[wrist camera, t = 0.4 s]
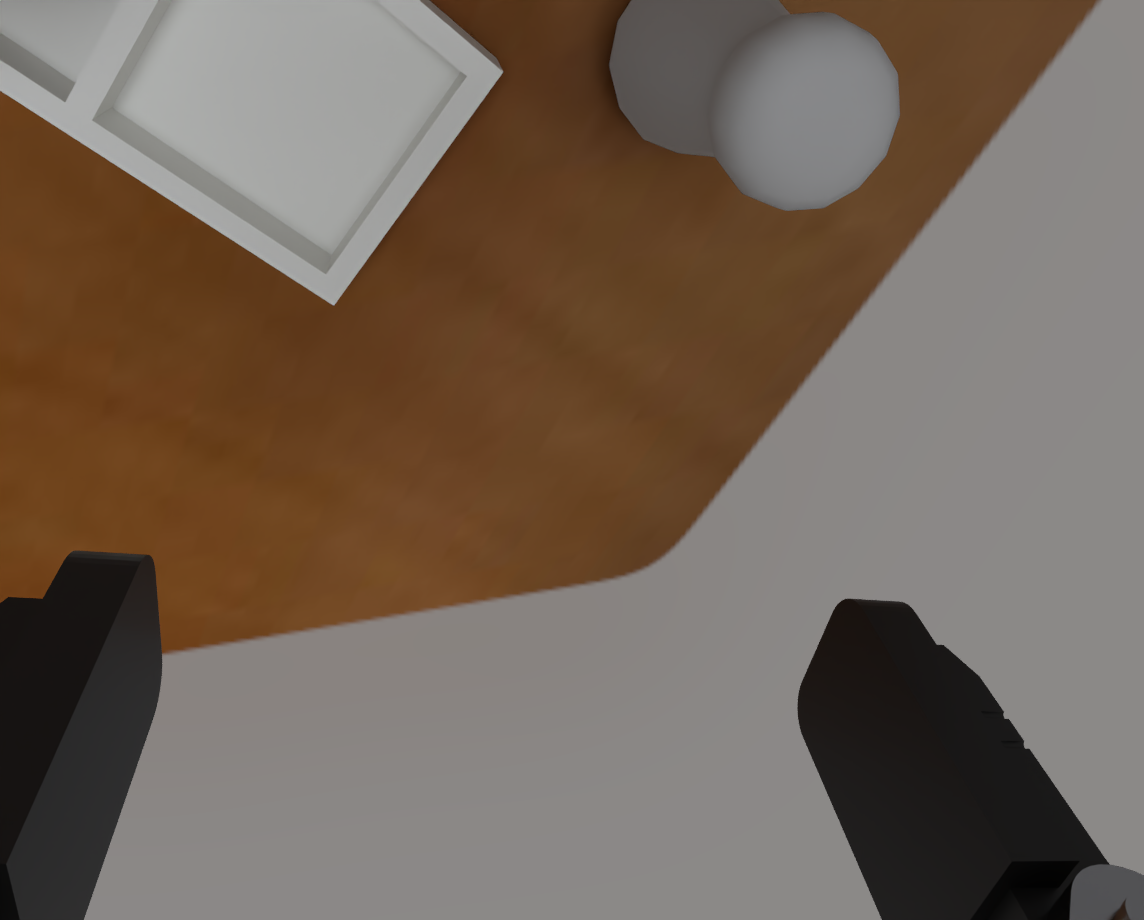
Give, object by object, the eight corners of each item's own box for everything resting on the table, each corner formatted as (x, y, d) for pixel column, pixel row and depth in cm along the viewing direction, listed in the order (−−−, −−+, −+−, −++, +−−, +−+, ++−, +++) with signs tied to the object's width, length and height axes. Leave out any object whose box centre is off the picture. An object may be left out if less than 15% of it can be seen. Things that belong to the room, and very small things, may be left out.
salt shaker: (734, 149, 33) (890, 270, 22) (584, 124, 31) (669, 238, 20) (782, -28, 30) (989, 7, 19) (618, -64, 29) (738, -47, 18)
